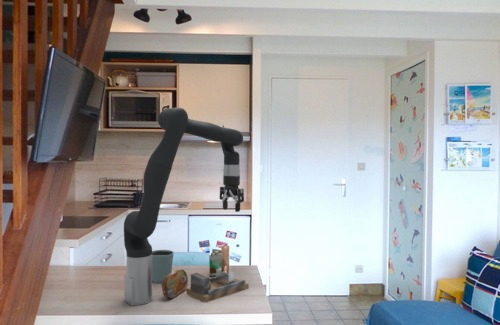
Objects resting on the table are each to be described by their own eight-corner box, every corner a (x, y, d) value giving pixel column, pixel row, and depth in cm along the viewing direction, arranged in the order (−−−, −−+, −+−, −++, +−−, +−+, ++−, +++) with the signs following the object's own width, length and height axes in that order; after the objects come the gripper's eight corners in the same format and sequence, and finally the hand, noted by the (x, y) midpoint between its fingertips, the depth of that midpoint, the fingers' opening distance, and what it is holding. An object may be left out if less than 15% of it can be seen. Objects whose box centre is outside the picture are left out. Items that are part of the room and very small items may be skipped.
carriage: (228, 286, 152) (228, 248, 151) (215, 281, 158) (216, 245, 157) (234, 284, 154) (234, 247, 154) (221, 279, 160) (222, 243, 160)
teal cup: (145, 279, 167) (145, 252, 167) (166, 274, 174) (166, 248, 173) (156, 285, 159) (156, 256, 159) (177, 280, 166) (177, 252, 166)
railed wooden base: (205, 302, 142) (205, 281, 141) (186, 293, 150) (186, 273, 150) (248, 288, 157) (248, 268, 157) (229, 280, 165) (229, 262, 165)
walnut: (205, 291, 147) (205, 282, 147) (200, 289, 150) (200, 280, 150) (213, 289, 150) (213, 280, 149) (207, 287, 152) (207, 278, 152)
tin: (168, 301, 142) (166, 278, 142) (161, 300, 143) (159, 278, 143) (189, 287, 156) (187, 266, 156) (182, 287, 157) (180, 266, 157)
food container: (223, 278, 169) (223, 256, 168) (209, 278, 169) (209, 255, 169) (225, 269, 181) (225, 248, 181) (212, 269, 181) (212, 248, 181)
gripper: (215, 174, 175) (215, 209, 176) (235, 175, 165) (235, 213, 165) (227, 173, 181) (227, 208, 181) (248, 175, 170) (248, 211, 171)
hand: (231, 210), depth 173 cm, fingers open, 8 cm apart
